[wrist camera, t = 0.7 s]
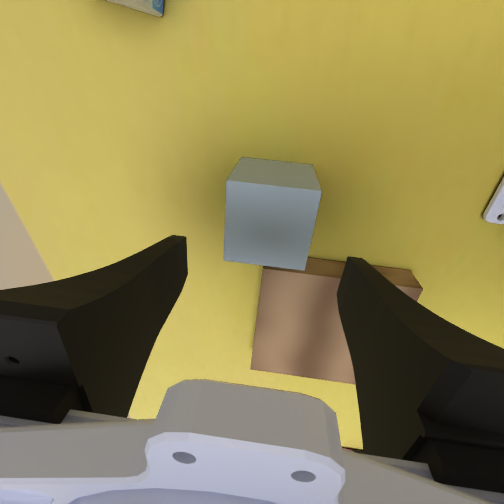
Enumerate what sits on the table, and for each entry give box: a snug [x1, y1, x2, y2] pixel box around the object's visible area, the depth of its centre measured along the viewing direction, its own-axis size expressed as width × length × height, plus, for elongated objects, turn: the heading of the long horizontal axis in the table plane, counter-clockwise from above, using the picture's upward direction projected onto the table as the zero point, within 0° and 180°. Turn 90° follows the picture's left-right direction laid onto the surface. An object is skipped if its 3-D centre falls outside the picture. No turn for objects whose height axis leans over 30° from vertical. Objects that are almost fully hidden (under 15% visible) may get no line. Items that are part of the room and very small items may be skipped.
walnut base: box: [250, 257, 423, 384], centre depth 25 cm, size 12×12×2 cm
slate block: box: [224, 157, 322, 271], centre depth 18 cm, size 5×5×6 cm
